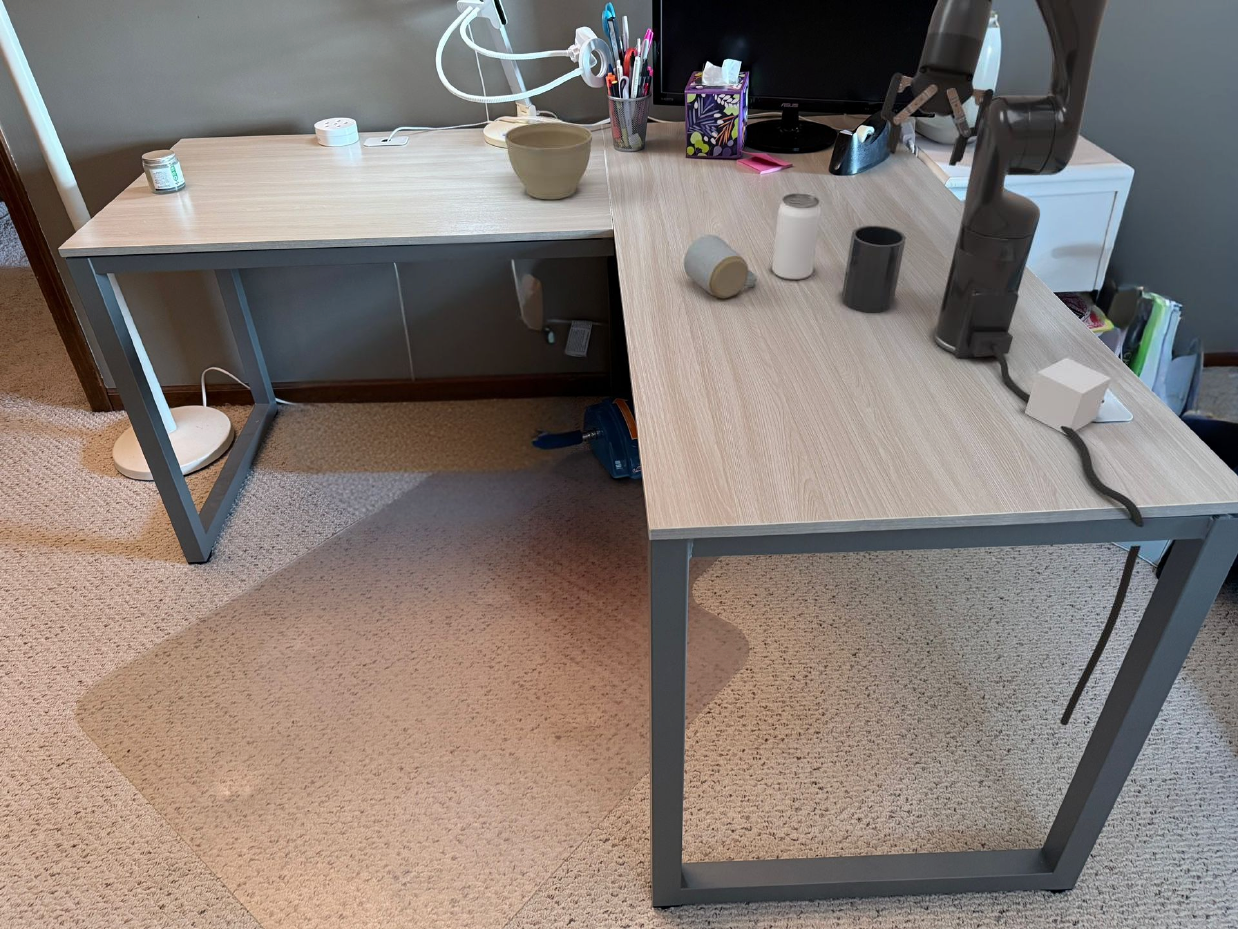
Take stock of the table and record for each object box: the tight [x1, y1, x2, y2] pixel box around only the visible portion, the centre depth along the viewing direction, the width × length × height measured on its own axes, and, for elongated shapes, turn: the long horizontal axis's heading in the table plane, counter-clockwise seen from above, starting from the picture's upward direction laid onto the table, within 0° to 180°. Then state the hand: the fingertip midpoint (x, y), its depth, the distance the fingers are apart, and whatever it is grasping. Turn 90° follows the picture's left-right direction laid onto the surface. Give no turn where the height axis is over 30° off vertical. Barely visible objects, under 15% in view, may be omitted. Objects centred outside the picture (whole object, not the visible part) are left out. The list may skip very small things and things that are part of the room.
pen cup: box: [841, 225, 907, 314], centre depth 135 cm, size 8×8×10 cm
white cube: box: [1024, 357, 1112, 436], centre depth 112 cm, size 6×6×6 cm
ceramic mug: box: [683, 234, 758, 299], centre depth 140 cm, size 11×8×8 cm
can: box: [771, 192, 822, 281], centre depth 143 cm, size 6×6×12 cm
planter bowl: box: [504, 121, 593, 200], centre depth 172 cm, size 16×16×11 cm
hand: (921, 159), depth 129 cm, fingers open, 8 cm apart
